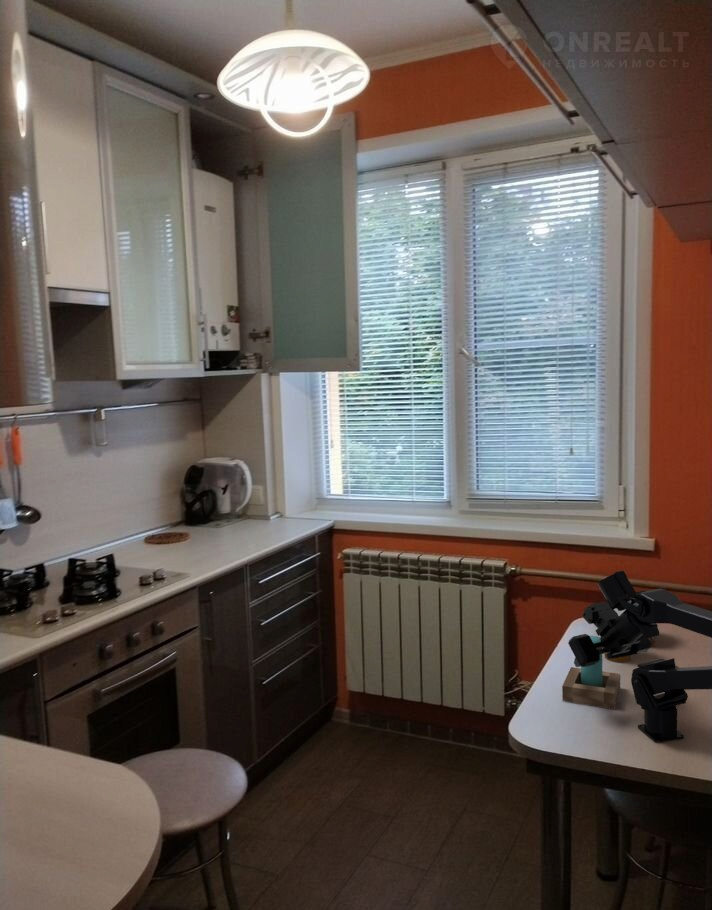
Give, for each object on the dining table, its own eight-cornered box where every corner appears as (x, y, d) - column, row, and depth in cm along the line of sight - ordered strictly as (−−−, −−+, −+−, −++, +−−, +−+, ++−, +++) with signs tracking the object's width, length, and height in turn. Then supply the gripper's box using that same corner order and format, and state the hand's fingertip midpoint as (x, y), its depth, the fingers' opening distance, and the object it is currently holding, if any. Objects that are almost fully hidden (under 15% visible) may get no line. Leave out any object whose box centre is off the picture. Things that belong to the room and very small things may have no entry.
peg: (594, 701, 162) (594, 644, 160) (577, 694, 166) (576, 639, 164) (606, 694, 165) (606, 639, 163) (588, 688, 168) (588, 634, 167)
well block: (620, 688, 168) (620, 673, 167) (614, 709, 158) (614, 693, 157) (571, 681, 172) (571, 667, 172) (562, 700, 163) (562, 685, 162)
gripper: (641, 587, 161) (606, 621, 172) (573, 601, 154) (541, 636, 165) (669, 633, 155) (630, 665, 166) (600, 649, 148) (564, 682, 159)
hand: (591, 660), depth 164 cm, fingers open, 9 cm apart
